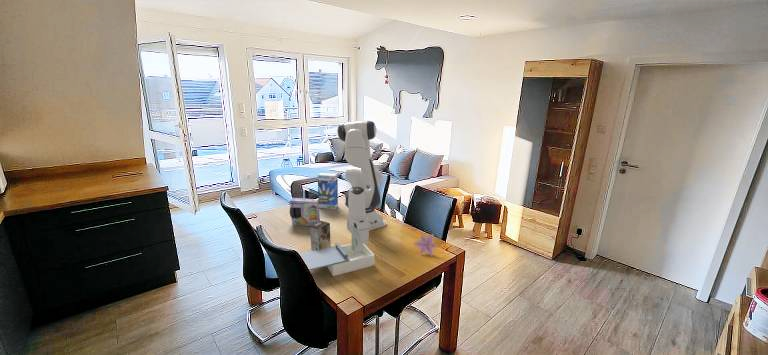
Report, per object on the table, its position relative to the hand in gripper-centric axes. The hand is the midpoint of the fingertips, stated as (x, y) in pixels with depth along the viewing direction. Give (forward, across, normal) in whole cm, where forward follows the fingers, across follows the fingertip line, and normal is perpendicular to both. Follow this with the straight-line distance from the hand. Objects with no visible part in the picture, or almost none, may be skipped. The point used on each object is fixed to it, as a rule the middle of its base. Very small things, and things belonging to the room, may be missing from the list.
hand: (356, 244), depth 161 cm
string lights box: (+9, -81, +11) cm, 82 cm away
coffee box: (+10, -18, -14) cm, 25 cm away
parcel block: (+3, 0, 0) cm, 3 cm away
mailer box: (+10, 0, -5) cm, 11 cm away
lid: (+3, 0, -18) cm, 18 cm away
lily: (+10, +8, +38) cm, 40 cm away
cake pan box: (+10, -56, -13) cm, 58 cm away
